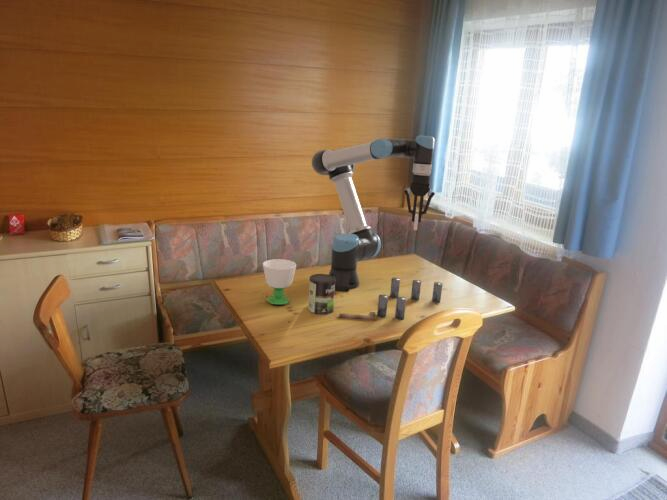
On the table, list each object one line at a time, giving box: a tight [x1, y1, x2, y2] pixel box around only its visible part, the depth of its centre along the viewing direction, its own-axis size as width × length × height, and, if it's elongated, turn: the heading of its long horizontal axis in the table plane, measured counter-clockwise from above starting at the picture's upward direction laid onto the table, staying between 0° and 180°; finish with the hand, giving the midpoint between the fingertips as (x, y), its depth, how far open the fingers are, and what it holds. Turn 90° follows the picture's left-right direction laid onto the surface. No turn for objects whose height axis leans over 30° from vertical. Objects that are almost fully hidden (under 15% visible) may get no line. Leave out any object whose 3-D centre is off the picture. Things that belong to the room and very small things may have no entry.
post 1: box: [376, 294, 389, 319], centre depth 189 cm, size 4×4×9 cm
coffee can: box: [307, 273, 336, 316], centre depth 190 cm, size 10×10×14 cm
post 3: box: [394, 296, 407, 321], centre depth 188 cm, size 4×4×9 cm
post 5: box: [431, 281, 444, 304], centre depth 208 cm, size 4×4×9 cm
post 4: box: [410, 279, 422, 301], centre depth 209 cm, size 4×4×9 cm
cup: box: [262, 258, 297, 305], centre depth 199 cm, size 14×14×16 cm
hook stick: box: [338, 311, 377, 322], centre depth 188 cm, size 14×6×2 cm, turn 88°
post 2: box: [389, 276, 401, 299], centre depth 210 cm, size 4×4×9 cm
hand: (415, 229), depth 207 cm, fingers closed
